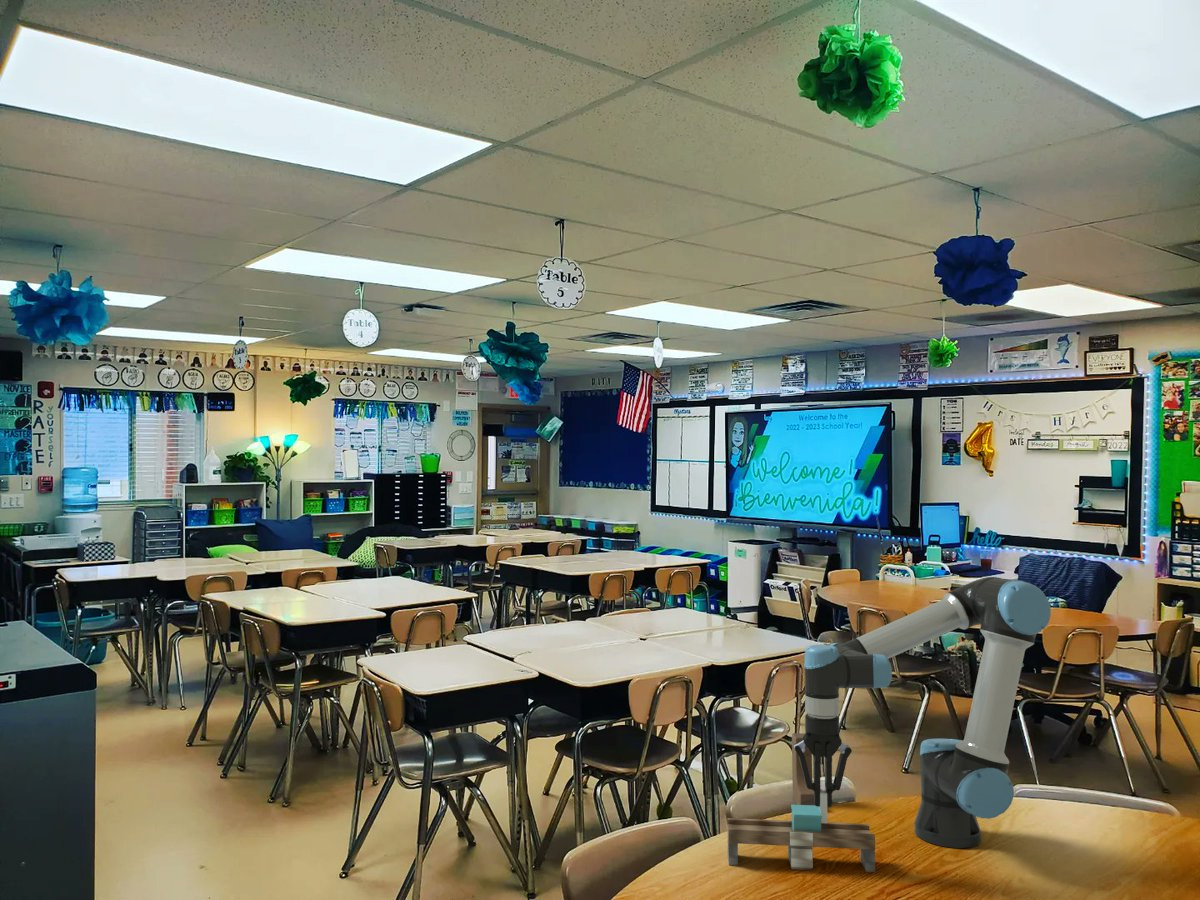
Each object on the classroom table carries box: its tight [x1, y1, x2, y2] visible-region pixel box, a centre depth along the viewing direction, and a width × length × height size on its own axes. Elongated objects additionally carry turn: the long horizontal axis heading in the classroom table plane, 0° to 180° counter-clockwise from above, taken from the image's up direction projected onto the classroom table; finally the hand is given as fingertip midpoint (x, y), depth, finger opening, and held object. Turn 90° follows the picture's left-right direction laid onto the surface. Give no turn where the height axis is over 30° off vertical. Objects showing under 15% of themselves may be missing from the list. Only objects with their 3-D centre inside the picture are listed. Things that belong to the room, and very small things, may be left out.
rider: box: [790, 804, 822, 832], centre depth 192 cm, size 6×6×5 cm
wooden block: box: [791, 732, 816, 806], centre depth 229 cm, size 9×4×18 cm, turn 0°
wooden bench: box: [726, 817, 876, 873], centre depth 192 cm, size 32×7×8 cm, turn 84°
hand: (823, 820), depth 192 cm, fingers closed
